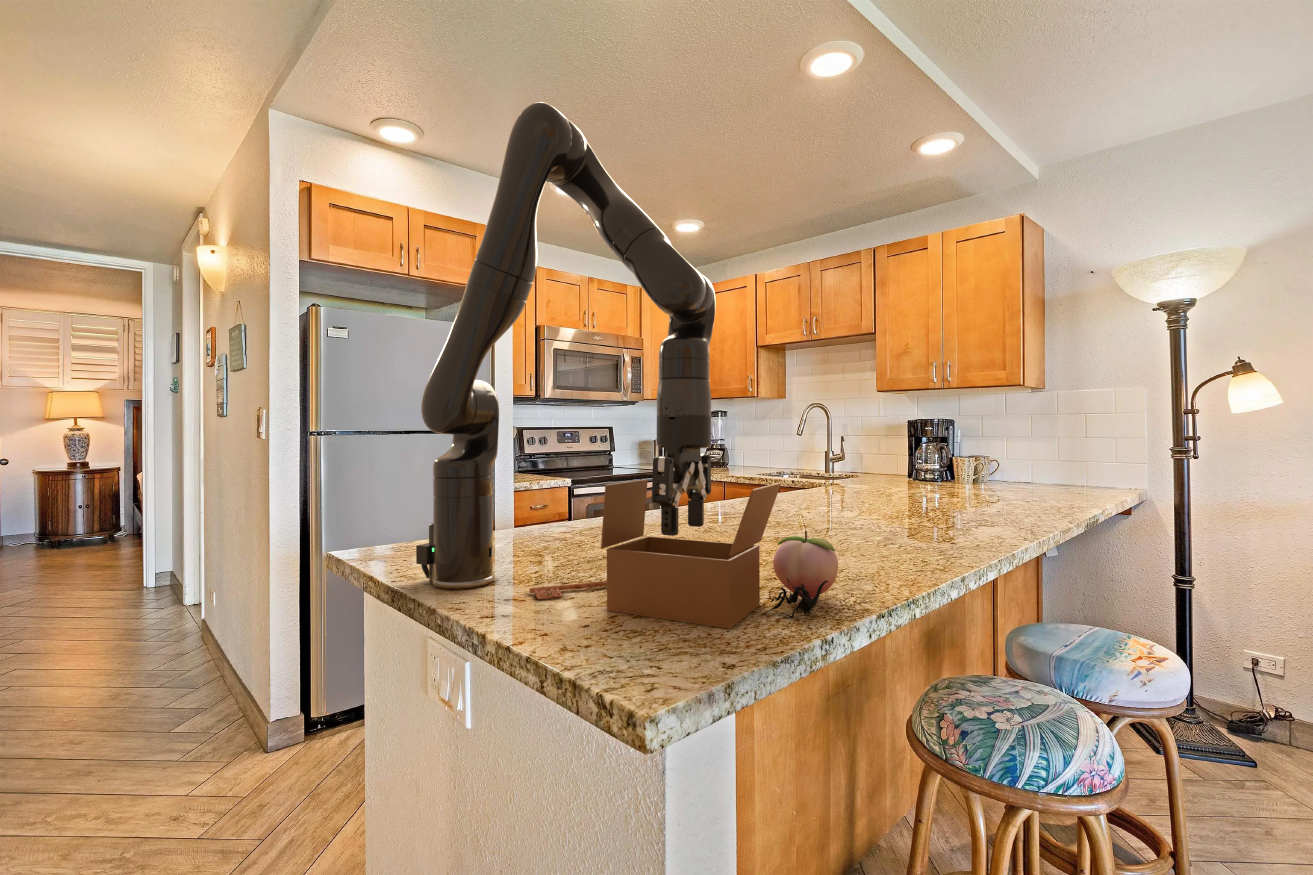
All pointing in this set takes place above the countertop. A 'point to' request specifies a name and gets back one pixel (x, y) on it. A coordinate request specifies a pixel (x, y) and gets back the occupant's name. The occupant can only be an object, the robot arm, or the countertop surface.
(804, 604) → the creature
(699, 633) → the countertop surface
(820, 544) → the decorative fruit
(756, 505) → the flap
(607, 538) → the carton
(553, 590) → the key
